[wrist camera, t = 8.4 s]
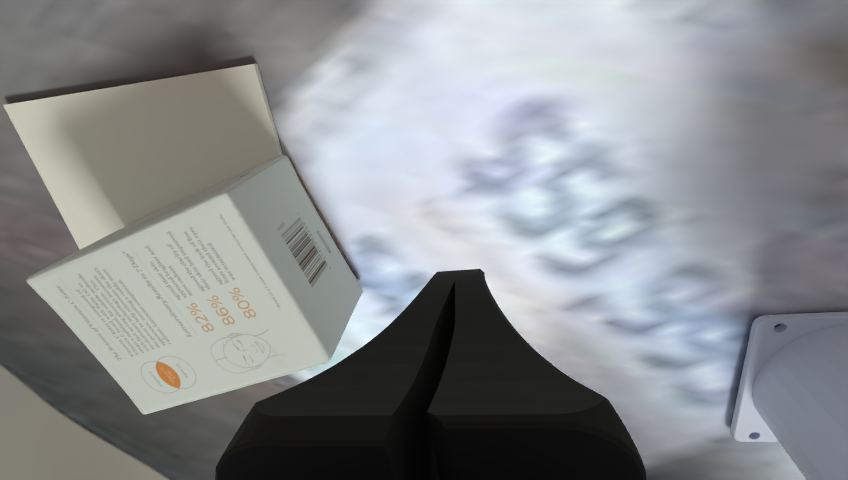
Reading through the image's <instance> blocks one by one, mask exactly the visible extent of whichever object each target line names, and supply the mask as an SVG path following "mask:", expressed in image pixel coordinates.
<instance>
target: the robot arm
mask: <svg viewBox="0 0 848 480" xmlns="http://www.w3.org/2000/svg"><path fill="white" fill-rule="evenodd" d="M780 323H781V324H780ZM777 324H780V325H779V326H778V327H775V326H776V325H777ZM730 433H731V435H732V436H733V438H734V439H735V440H737V441H740V442H779V443H780V444H781V445H782V447H783V448H784V449H785V451H786V452H787V454H788V455H789V456H790V458H791V459H792V460H793V462H794V463H795V465H796V466H797V467H798V469H799V470H800V471H801V473H802V474H803V476H804V477H805V478H806V480H848V312H827V313H804V314H780V315H764V316H760V317H758V318H756V319H755V320H754V321H753V323H752V327H751V332H750V337H749V341H748V346H747V351H746V356H745V361H744V366H743V371H742V375H741V380H740V385H739V390H738V395H737V400H736V404H735V409H734V414H733V419H732V424H731V429H730ZM215 480H646V472H645V468H644V465H643V462H642V459H641V457H640V455H639V452H638V450H637V448H636V446H635V444H634V442H633V440H632V438H631V436H630V434H629V433H628V431H627V429H626V427H625V426H624V424H623V422H622V420H621V419H620V417H619V416H618V414H617V413H616V411H615V409H614V408H613V406H612V405H611V403H610V402H609V400H608V399H606V398H605V397H603V396H602V395H600V394H598V393H596V392H595V391H593V390H591V389H589V388H587V387H586V386H584V385H582V384H580V383H578V382H577V381H575V380H573V379H572V378H570V377H568V376H567V375H566V374H564V373H563V372H561V371H560V370H558V369H557V368H556V367H554V366H553V365H552V364H551V363H550V362H548V361H547V360H546V359H545V358H543V357H542V356H541V355H540V354H539V353H537V352H536V351H535V350H534V349H533V348H532V347H531V346H530V345H529V344H528V343H527V342H526V341H525V340H524V339H523V338H522V336H521V335H520V334H519V333H518V332H517V331H516V330H515V328H514V327H513V326H512V325H511V323H510V322H509V321H508V319H507V318H506V317H505V315H504V314H503V313H502V311H501V310H500V308H499V306H498V305H497V303H496V301H495V300H494V298H493V296H492V294H491V292H490V290H489V288H488V286H487V284H486V281H485V276H484V272H483V271H482V270H481V269H472V270H458V271H443V272H437V273H436V274H435V275H434V276H433V277H432V278H431V279H430V281H429V282H428V283H427V284H426V286H425V287H424V288H423V289H422V290H421V292H420V293H419V294H418V295H417V296H416V298H415V299H414V300H413V301H412V302H411V303H410V304H409V305H408V307H407V308H406V309H405V310H404V311H403V312H402V313H401V314H400V315H399V316H398V317H397V318H396V319H395V320H394V321H393V322H392V323H391V324H390V325H389V326H388V327H387V328H385V329H384V330H383V331H382V332H381V333H380V334H378V335H377V336H376V337H375V338H373V339H372V340H371V341H370V342H368V343H367V344H366V345H364V346H363V347H362V348H360V349H359V350H357V351H356V352H354V353H353V354H351V355H350V356H348V357H347V358H345V359H343V360H342V361H340V362H339V363H337V364H336V365H334V366H332V367H331V368H329V369H327V370H325V371H324V372H322V373H320V374H318V375H316V376H314V377H312V378H310V379H308V380H307V381H305V382H303V383H300V384H298V385H296V386H294V387H292V388H289V389H287V390H285V391H283V392H280V393H278V394H276V395H273V396H271V397H269V398H266V399H264V400H261V401H259V402H256V403H255V405H254V406H253V408H252V409H251V411H250V412H249V414H248V415H247V417H246V418H245V420H244V421H243V423H242V424H241V426H240V428H239V429H238V431H237V432H236V434H235V436H234V437H233V439H232V440H231V442H230V444H229V445H228V447H227V448H226V450H225V452H224V453H223V455H222V457H221V458H220V460H219V462H218V464H217V466H216V477H215Z"/></svg>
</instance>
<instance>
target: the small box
mask: <svg viewBox="0 0 848 480" xmlns="http://www.w3.org/2000/svg"><path fill="white" fill-rule="evenodd" d="M26 281H27V283H28V284H29V285H30V286H31V287H32V288H33V289H34V290H35V291H36V292H37V293H38V294H39V295H40V296H41V297H42V298H43V299H44V300H45V301H46V302H47V303H48V304H49V305H50V306H51V307H52V308H53V309H54V311H55V312H56V313H57V314H58V315H59V316H60V317H61V318H62V319H63V320H64V322H65V323H66V324H67V325H68V326H69V327H70V328H71V329H72V331H73V332H74V333H75V334H76V335H77V336H78V337H79V339H80V340H81V341H82V342H83V343H84V344H85V345H86V347H87V348H88V349H89V350H90V351H91V352H92V354H93V355H94V356H95V357H96V358H97V359H98V361H99V362H100V363H101V364H102V365H103V366H104V367H105V368H106V370H107V371H108V372H109V373H110V374H111V376H112V377H113V378H114V379H115V380H116V381H117V383H118V384H119V385H120V386H121V387H122V388H123V390H124V391H125V392H126V393H127V394H128V396H129V397H130V398H131V400H132V401H133V403H134V404H135V405H136V406H137V407H138V409H139V410H140V411H141V413H142V414H148V413H152V412H156V411H159V410H163V409H166V408H170V407H173V406H177V405H181V404H184V403H188V402H192V401H195V400H198V399H202V398H206V397H209V396H213V395H216V394H220V393H224V392H227V391H231V390H235V389H238V388H241V387H245V386H248V385H252V384H255V383H259V382H263V381H266V380H269V379H273V378H277V377H280V376H284V375H287V374H291V373H294V372H298V371H302V370H305V369H309V368H312V367H316V366H319V365H324V364H327V363H328V362H329V361H330V360H331V358H332V356H333V354H334V352H335V350H336V348H337V345H338V343H339V341H340V339H341V337H342V335H343V332H344V330H345V328H346V326H347V324H348V321H349V319H350V317H351V315H352V313H353V311H354V309H355V307H356V304H357V302H358V300H359V298H360V296H361V294H362V292H363V290H362V288H361V286H360V284H359V282H358V280H357V279H356V277H355V276H354V275H353V273H352V271H351V270H350V268H349V266H348V264H347V263H346V261H345V259H344V258H343V256H342V254H341V253H340V251H339V249H338V248H337V246H336V244H335V243H334V241H333V239H332V237H331V235H330V234H329V232H328V230H327V228H326V227H325V225H324V223H323V221H322V220H321V218H320V216H319V214H318V213H317V211H316V209H315V207H314V205H313V204H312V202H311V200H310V198H309V196H308V195H307V193H306V191H305V189H304V187H303V186H302V184H301V182H300V180H299V178H298V176H297V174H296V172H295V170H294V168H293V166H292V164H291V162H290V160H289V158H288V157H287V156H286V155H282V156H280V157H278V158H275V159H273V160H271V161H269V162H266V163H264V164H262V165H260V166H258V167H255V168H253V169H251V170H249V171H246V172H244V173H242V174H240V175H238V176H235V177H233V178H231V179H229V180H227V181H225V182H222V183H220V184H218V185H216V186H213V187H211V188H209V189H207V190H205V191H202V192H200V193H198V194H196V195H193V196H191V197H189V198H187V199H185V200H182V201H180V202H178V203H176V204H174V205H172V206H169V207H167V208H165V209H163V210H161V211H158V212H156V213H154V214H152V215H149V216H147V217H145V218H143V219H141V220H138V221H136V222H134V223H132V224H130V225H128V226H126V227H124V228H122V229H120V230H117V231H115V232H113V233H111V234H110V235H108V236H106V237H104V238H102V239H100V240H98V241H96V242H94V243H92V244H90V245H88V246H86V247H84V248H82V249H81V250H79V251H77V252H75V253H73V254H71V255H69V256H67V257H65V258H64V259H62V260H60V261H58V262H56V263H54V264H52V265H50V266H48V267H47V268H45V269H43V270H41V271H39V272H37V273H35V274H33V275H32V276H30V277H28V278H27V280H26Z"/></svg>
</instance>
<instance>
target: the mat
mask: <svg viewBox="0 0 848 480" xmlns="http://www.w3.org/2000/svg"><path fill="white" fill-rule="evenodd" d="M3 106H4V108H5V110H6V111H7V113H8V115H9V117H10V119H11V121H12V123H13V125H14V126H15V128H16V130H17V132H18V134H19V136H20V138H21V140H22V142H23V143H24V145H25V147H26V149H27V151H28V153H29V155H30V157H31V158H32V160H33V162H34V164H35V166H36V168H37V170H38V172H39V174H40V175H41V177H42V179H43V181H44V183H45V185H46V187H47V189H48V190H49V192H50V194H51V196H52V198H53V200H54V202H55V204H56V206H57V207H58V209H59V211H60V213H61V215H62V217H63V219H64V221H65V222H66V224H67V226H68V228H69V230H70V232H71V234H72V236H73V238H74V239H75V241H76V243H77V245H78V247H79V249H80V250H81V249H82V248H84V247H86V246H88V245H90V244H92V243H94V242H96V241H98V240H100V239H102V238H104V237H106V236H108V235H110V234H111V233H113V232H115V231H117V230H120V229H122V228H124V227H126V226H128V225H130V224H132V223H134V222H136V221H138V220H141V219H143V218H145V217H147V216H149V215H152V214H154V213H156V212H158V211H161V210H163V209H165V208H167V207H169V206H172V205H174V204H176V203H178V202H180V201H182V200H185V199H187V198H189V197H191V196H193V195H196V194H198V193H200V192H202V191H205V190H207V189H209V188H211V187H213V186H216V185H218V184H220V183H222V182H225V181H227V180H229V179H231V178H233V177H235V176H238V175H240V174H242V173H244V172H246V171H249V170H251V169H253V168H255V167H258V166H260V165H262V164H264V163H266V162H269V161H271V160H273V159H275V158H278V157H280V156H282V155H283V153H282V149H281V146H280V142H279V139H278V135H277V132H276V128H275V125H274V121H273V117H272V114H271V110H270V107H269V103H268V100H267V96H266V93H265V89H264V86H263V82H262V79H261V75H260V72H259V68H258V65H257V64H250V65H244V66H238V67H232V68H226V69H220V70H214V71H208V72H202V73H195V74H189V75H183V76H177V77H171V78H165V79H159V80H153V81H147V82H141V83H135V84H129V85H122V86H116V87H110V88H104V89H98V90H92V91H86V92H80V93H74V94H68V95H62V96H56V97H49V98H43V99H37V100H31V101H25V102H19V103H13V104H7V105H3Z"/></svg>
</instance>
